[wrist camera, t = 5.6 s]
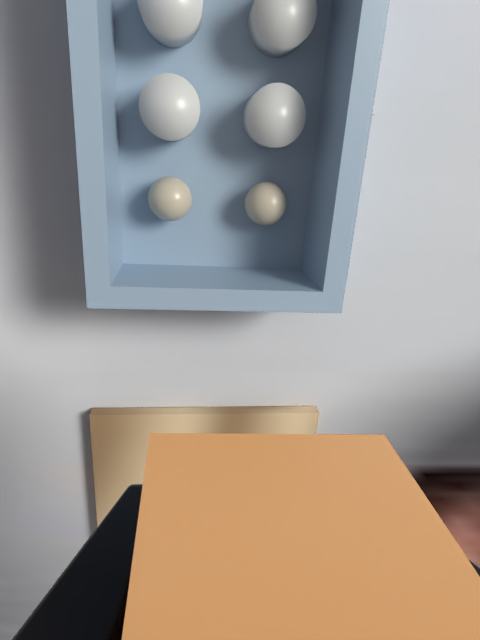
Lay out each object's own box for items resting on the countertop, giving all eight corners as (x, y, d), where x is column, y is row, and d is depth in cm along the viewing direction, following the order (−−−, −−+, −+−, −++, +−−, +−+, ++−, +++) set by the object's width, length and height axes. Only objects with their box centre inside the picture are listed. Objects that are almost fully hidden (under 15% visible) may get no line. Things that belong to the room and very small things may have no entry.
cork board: (315, 405, 22) (319, 412, 22) (286, 610, 27) (288, 619, 27) (91, 407, 21) (89, 415, 20) (106, 622, 26) (105, 633, 25)
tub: (357, -81, 15) (413, -156, 11) (312, 282, 20) (341, 313, 16) (87, -119, 14) (50, -217, 10) (106, 276, 18) (86, 308, 15)
